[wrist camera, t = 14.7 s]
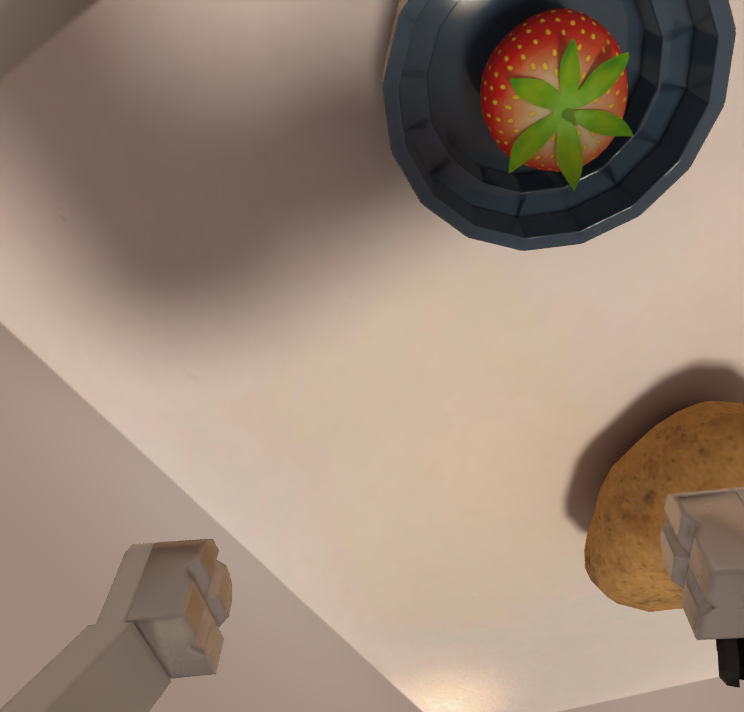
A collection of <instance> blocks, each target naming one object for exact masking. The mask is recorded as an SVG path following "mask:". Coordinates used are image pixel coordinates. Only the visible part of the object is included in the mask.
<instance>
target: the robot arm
mask: <svg viewBox="0 0 744 712" xmlns="http://www.w3.org/2000/svg"><path fill="white" fill-rule="evenodd" d="M664 510H665V512H666V514H667V517H668V519H669V520H668V521H667V522H666V523H664V524H663V525H662V526H661V536H660V542H661V550H662V556H663V560H664V563H665V566H666V569H667V572H668V574H669V576H670V579H671V581H673V582H674V583H675V584H677V585H678V586H679V587H681V588H682V589H683V595H682V601H681V605H682V607H683V609H684V612H685V614H686V616H687V619H688V621H689V623H690V626H691V628H692V630H693V632H694V635H695V637H696V639H697V640H706V639H728V638H744V487H738V488H730V489H728V488H722V489H713V490H704V491H694V492H685V493H676V494H669V495H668V497H667V498H666V500H665V506H664ZM218 551H219V550H218V548H217V546H216V544H215V542H214V540H213V539H200V540H185V541H170V542H157V543H147V544H133V545H132V546H131V547H130V548H129V549H128V550H127V551H126V552H125V555H124V557H123V560H122V562H121V564H120V567H119V569H118V572H117V575H116V577H115V579H114V582H113V584H112V587H111V589H110V592H109V594H108V596H107V599H106V601H105V604H104V606H103V609H102V611H101V613H100V616H99V618H98V621H97V623H96V625H88V626H87V627H86V628H85V629H84V630H83V631H82V632H81V633H80V634H79V635H78V636H77V637H76V638H75V639H74V640H73V641H71V642H70V644H68V645H67V646H66V647H65V648H64V649H63V650H62V651H61V652H60V653H59V654H58V655H57V656H56V657H55V658H54V659H53V660H52V661H51V662H50V663H49V664H47V665H46V666H45V667H44V668H43V669H42V670H41V671H40V672H39V673H38V674H37V675H36V676H35V677H34V678H33V679H32V680H31V681H30V682H28V683H27V684H26V685H25V686H24V687H23V688H22V689H21V690H20V691H19V692H18V693H17V694H16V695H15V696H14V697H13V698H12V699H11V700H10V701H9V702H7V703H6V704H5V705H4V706H3V707H2V708H1V709H0V712H149V711H150V709H151V708H152V707H153V705H154V704H155V703H156V701H157V700H158V699H159V697H160V696H161V695H162V693H163V692H164V691H165V689H166V688H167V687H168V685H169V684H170V683H171V678H181V677H190V676H200V675H211V674H216V671H217V667H218V663H219V658H220V654H221V649H222V645H223V640H224V638H223V636H222V634H221V632H220V631H219V627H220V626H221V624H222V623H223V622H224V621H225V620H226V618H228V617H229V613H230V608H231V603H232V583H231V578H230V573H229V571H228V569H227V567H226V565H225V564H223V563H221V562H219V561H218V560H217V555H218Z"/></svg>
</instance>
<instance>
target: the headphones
mask: <svg viewBox="0 0 744 712" xmlns="http://www.w3.org/2000/svg"><path fill="white" fill-rule="evenodd" d="M716 646H717V651H718V665H719V677H720V678H721V679H722V680H723V681H724V682H725V683H726V685H728V686H734V687H740V686H739V685H740V684H739V679H741V680H744V638H728V639H716Z"/></svg>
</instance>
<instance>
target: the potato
mask: <svg viewBox="0 0 744 712" xmlns="http://www.w3.org/2000/svg"><path fill="white" fill-rule="evenodd" d="M738 487H744V403H740V402H723V401H706V402H701V403H698V404H695V405H692V406H690V407H687V408H684V409H682V410H679V411H678V412H676V413H675V414H673V415H671V416H670V417H668V418H667V419H665V420H663V421H662V422H660V423H659V424H657V425H656V426H654V427H653V428H652V429H651V430H650V431H649V432H647V433H646V434H645V435H644V436H643V437H642V438H641V439H640V440H639V441H638V442H637V443H636V444H635V445H634V446H633V447H631V448H630V449H629V450H628V451H627V452H626V453H625V454H624V455H623V456H622V457H621V458H620V459H619V460H618V461H617V462H616V463H615V464H614V465H613V466H612V467H611V469H610V471H609V473H608V475H607V477H606V479H605V481H604V482H603V484H602V486H601V488H600V490H599V494H598V498H597V502H596V506H595V510H594V514H593V517H592V520H591V523H590V526H589V529H588V533H587V538H586V544H585V550H584V551H585V569H586V571H587V573H588V575H589V577H590V579H591V581H592V582H593V583H594V584H595V585H596V586H597V587H598V588H599V589H600V590H601V591H602V592H603V593H604V594H605V595H606V596H607V597H608V598H610V599H611V600H613V601H615V602H616V603H618V604H622V605H625V606H629V607H633V608H637V609H640V610H644V611H648V612H653V611H661V610H669V609H681V608H683V607H682V605H681V601H682V595H683V589H682V588H681V587H679V586H678V585H677V584H675V583H674V582H673V581H671V579H670V576H669V574H668V572H667V569H666V566H665V563H664V560H663V556H662V550H661V542H660V536H661V526H662V525H663V524H664V523H666V522H667V521H668V520H669V519H668V517H667V514H666V512H665V510H664V506H665V500H666V498H667V497H668V495H669V494H676V493H685V492H694V491H704V490H713V489H722V488H728V489H730V488H738Z"/></svg>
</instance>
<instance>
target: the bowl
mask: <svg viewBox="0 0 744 712" xmlns="http://www.w3.org/2000/svg"><path fill="white" fill-rule="evenodd" d="M564 8H567V9H571V10H574V11H578V12H581V13H585V14H586V15H588V16H590V17H591V18H593V19H595V20H596V21H598V22H599V23H600V24H601V25H602V26H603V27H604V28H605V29H607V30H608V31H609V33H610V34H611V35H612V37H613V38H614V40H615V41H616V43H617V44H618V46H619V48H620V50H621V53H622V54H623V53H626V52H629V59H628V62H627V65H626V67H625V68H626V73H627V83H628V96H627V103H626V109H625V112H624V116H623V119H622V120H623V121H624V122H625V123H626V124H627V125H628V126H629V128H630V129H631V131H632V133H633V136H634V137H630V136H615V137H614V138H613V140H612V141H611V142H610V144H609V145H608V147H607V148H606V149H605V150H604V151H603V152H602V153H601V154H599V155H598V156H597V157H596V158H595V159H593V160H592V161H590V162H589V163H587V164H585V165H584V166H583V168H582V173H581V176H580V179H579V182H578V184H577V186H576V189H575V191H574V190H573V189H572V187H571V186H570V184H569V183H568V182H567V180H566V179H565V177H564V175H563V174H562V172H561V171H558V172H556V171H545V170H540V169H535V168H531V167H528V166H526V165H521V166H520V167H518V168H517V169H515V170H514V171H512V172H511V173H508V171H509V161H510V157H508V156H507V155H506V154H505V153H504V152H503V151H502V150H501V149H500V148H499V147H498V145H497V144H496V142H495V141H494V139H493V138H492V136H491V134H490V132H489V130H488V127H487V125H486V123H485V120H484V117H483V113H482V109H481V97H480V86H481V80H482V74H483V71H484V69H485V66H486V64H487V61H488V59H489V57H490V55H491V54H492V52H493V51H494V49H495V48H496V46H497V45H498V44H499V43H500V42H501V41H502V39H503V38H504V37H505V36H506V35H507V34H508V33H509V32H511V31H512V30H513V29H514V28H515V27H517V26H518V25H519V24H521V23H522V22H524V21H526V20H527V19H529V18H530V17H532V16H534V15H537V14H539V13H542V12H545V11H547V10H550V9H564ZM735 30H736V27H735V23H734V19H733V16H732V12H731V8H730V4H729V0H399V2H398V6H397V11H396V15H395V19H394V23H393V28H392V32H391V36H390V41H389V45H388V49H387V53H386V58H385V64H384V72H383V82H382V91H383V98H384V105H385V112H386V119H387V127H388V134H389V141H390V148H391V151H392V155H393V156H394V158H395V160H396V162H397V163H398V165H399V167H400V168H401V170H402V172H403V173H404V175H405V177H406V179H407V180H408V182H409V184H410V185H411V187H412V189H413V190H414V192H415V194H416V196H417V197H418V199H419V201H420V202H421V203H422V204H423V205H424V206H425V207H427V208H428V209H429V210H431V211H432V212H433V213H435V214H436V215H437V216H439V217H440V218H442V219H443V220H444V221H446V222H447V223H448V224H450V225H451V226H452V227H454V228H455V229H457V230H458V231H459V232H461V233H462V234H463V235H465V236H468V238H472V239H476V240H480V241H484V242H488V243H493V244H497V245H501V246H505V247H509V248H513V249H517V250H523V251H527V250H535V249H543V248H551V247H559V246H567V245H576V244H581V243H584V242H586V241H588V240H590V239H593V238H595V237H597V236H599V235H601V234H603V233H605V232H607V231H609V230H611V229H613V228H615V227H617V226H619V225H622V224H624V223H626V222H628V221H630V220H632V219H634V218H636V217H638V216H639V215H641V214H642V213H643V212H644V211H645V210H646V209H647V208H648V207H649V206H651V205H652V204H653V203H654V202H655V201H656V200H657V199H658V198H659V197H660V196H661V195H662V194H663V193H664V192H665V191H666V190H667V189H669V188H670V187H671V186H672V185H673V184H674V183H675V182H676V181H677V180H678V179H679V178H680V177H681V176H682V175H683V174H684V173H685V172H686V171H688V170H689V167H691V165H692V163H693V161H694V160H695V158H696V156H697V154H698V152H699V150H700V149H701V147H702V145H703V143H704V141H705V139H706V138H707V136H708V134H709V132H710V130H711V128H712V127H713V125H714V123H715V121H716V119H717V118H718V116H719V114H720V112H721V110H722V108H723V107H724V103H725V99H726V93H727V86H728V80H729V74H730V67H731V61H732V55H733V48H734V42H735V35H736V31H735Z"/></svg>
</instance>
